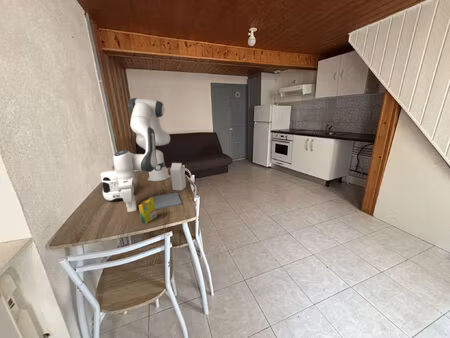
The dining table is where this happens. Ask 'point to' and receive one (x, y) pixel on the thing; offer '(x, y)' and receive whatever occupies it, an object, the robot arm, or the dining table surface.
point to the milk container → (111, 186)
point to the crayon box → (147, 210)
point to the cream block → (132, 204)
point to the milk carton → (178, 176)
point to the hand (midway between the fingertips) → (131, 203)
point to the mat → (166, 200)
